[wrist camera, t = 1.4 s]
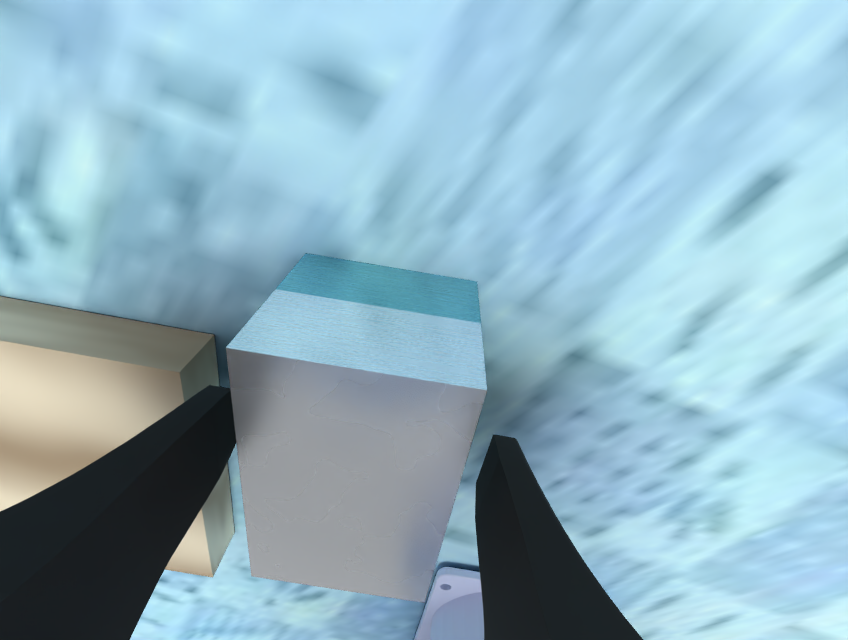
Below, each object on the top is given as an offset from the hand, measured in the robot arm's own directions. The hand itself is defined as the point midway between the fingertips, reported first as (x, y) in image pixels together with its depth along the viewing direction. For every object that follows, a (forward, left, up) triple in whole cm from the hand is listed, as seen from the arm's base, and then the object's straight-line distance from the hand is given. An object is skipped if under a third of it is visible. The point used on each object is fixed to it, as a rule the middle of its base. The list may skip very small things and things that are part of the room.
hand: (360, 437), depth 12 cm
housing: (0, 0, -3) cm, 3 cm away
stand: (-5, +11, -3) cm, 12 cm away
